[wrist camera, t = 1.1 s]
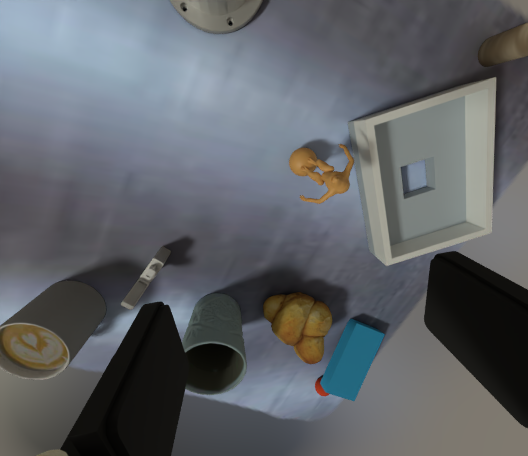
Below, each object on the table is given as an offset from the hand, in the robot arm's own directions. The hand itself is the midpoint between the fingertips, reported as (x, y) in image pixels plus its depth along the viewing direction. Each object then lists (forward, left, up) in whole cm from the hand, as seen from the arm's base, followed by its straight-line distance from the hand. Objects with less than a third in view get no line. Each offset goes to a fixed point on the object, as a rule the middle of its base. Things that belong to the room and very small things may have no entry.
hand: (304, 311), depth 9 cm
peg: (-6, +37, -31) cm, 49 cm away
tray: (+8, +24, -31) cm, 40 cm away
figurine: (+1, +8, -32) cm, 33 cm away
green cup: (+22, -14, -32) cm, 41 cm away
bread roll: (+26, 0, -32) cm, 41 cm away
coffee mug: (+13, -37, -32) cm, 50 cm away
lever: (+41, +6, -32) cm, 52 cm away
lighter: (+9, -20, -32) cm, 38 cm away
